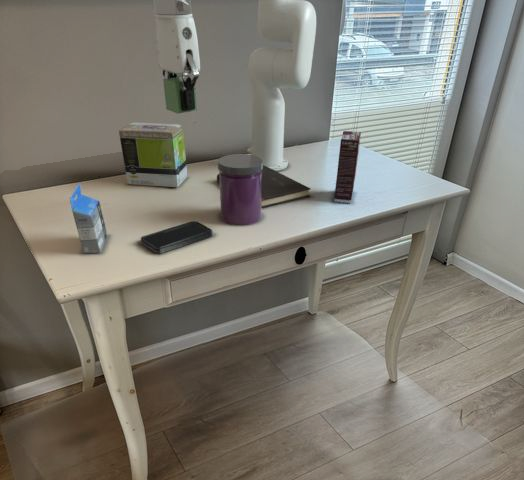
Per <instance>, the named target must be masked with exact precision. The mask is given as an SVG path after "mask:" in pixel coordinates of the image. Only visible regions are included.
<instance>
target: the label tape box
mask: <svg viewBox="0 0 524 480" xmlns="http://www.w3.org/2000/svg"><path fill="white" fill-rule="evenodd" d="M69 202H70V208H71V212H72V216H73V219H74V223H75V226H76V227H75V228H76V231H77V234H78V238H79V242H80V245H81V249H82V253H83V254H100V253H102V250H103V247H104V245H105V241H106V239H107V237H108V233H107V229H106V228H107V227H106V225H105V220H104V214H103V212H102V211H103V210H102V207H101V203H100V200H98V199H96V198H93V197H90V196H87V195H85V194H82V188H81V182H80V183H78V185H77V186H76V187H75V189H74V191H72V194H71V195H70V197H69Z"/></svg>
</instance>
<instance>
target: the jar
mask: <svg viewBox="0 0 524 480" xmlns="http://www.w3.org/2000/svg"><path fill="white" fill-rule="evenodd" d="M262 169H263V160H262V159H261V158H260V157H257V156H254V155H251V154H249V153H234V154H233V153H232V154H228V155H224V156H221V157H220V158H218V159H217V170H218V172H219V173H218V174H219V180H220V182H219V200H220V203H219V204H220V219H221V220H222V221H223V222H225V223H226V224H229V225H233V226H234V225H235V226H249V225H252V224H253V225H254V224H256V223H258V222H260V221H261V220H262V211H263V208H262V171H261V170H262Z"/></svg>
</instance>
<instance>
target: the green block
mask: <svg viewBox="0 0 524 480" xmlns="http://www.w3.org/2000/svg"><path fill="white" fill-rule="evenodd" d="M187 78H188V77H184V80H185V81H186V79H187ZM162 81H163V92H164V100H165V101H164V102H165V109H166V110H167V111H170V112H173V113H175V114H177V115H178V114H185V113H190V112H196V111H198V103H197V102H198V101H197V87H196V85H195V89H194V96H195V109H194V110H189V111H182V109H181V99H180V90H182V89H181V84H180V80H179V76H178V77H175V78H168V79H165V78H163V79H162Z"/></svg>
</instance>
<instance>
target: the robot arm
mask: <svg viewBox="0 0 524 480" xmlns="http://www.w3.org/2000/svg"><path fill="white" fill-rule="evenodd" d="M152 4H153V6H152V7H153V13H154V18H155V35H156V50H157V57H158V66H159V68H160V70H161V72H162V75H163V79H168V78H175V77H179V80H180V84H181V89H182V90H180V99H181V109H182V111H189V110H194V109H195V96H194V89H195V86H196V84H197V80H198V79H199V77H200V72H201V60H200V59H201V58H200V51H199V50H200V49H199V41H198V34H197V29H196V23H195V20H194V17H193V3H192V0H152ZM257 9H258V10H257V32H258V33H257V34H258V35H259V37H260V38H261V39H263V40H265V41H268V42H276V43H286V44H292V48H285V47H277V46H275V47H273V46H262V47H258V48H256V49H255V50H253V51H252V52H251V54H250V56H249V58H248V75H249V81H250V89H251V106H252V107H251V146H250V148H247V149H246V152H247V154H249V155H254V156H257V157H260V158H261V159H262V160H263V165H265V166H267V167H269V168H271V169H273V170H275V171H277V172H279V171H283V170H285V169H287V167H288V166H289V161H288V160H287V159H286V158H284V140H285V117H286V116H285V115H286V113H285V112H286V104H285V99H284V96H283V94H282V91H281V90H280V89H284V90H285V89H286V90H297V91H298V90H303V89H304V88H306V87H307V85H308V83H309V82H310V79H311V74H312V73H311V72H312V65H313V59H314V49H315V43H316V34H317V13H316V9H315V7H314V5H313V3H311V2H310V1H307V0H258V7H257ZM185 71H186V72H185ZM184 77H186V78H187V79H186V81H185V80H184Z"/></svg>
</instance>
